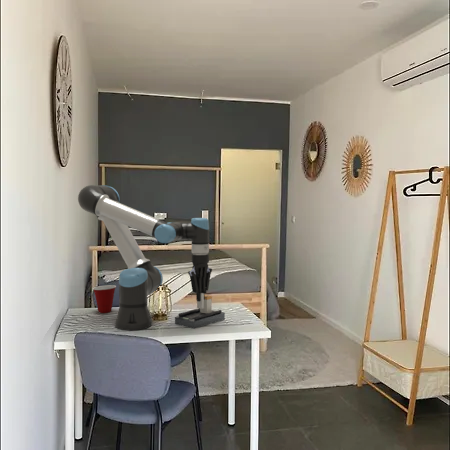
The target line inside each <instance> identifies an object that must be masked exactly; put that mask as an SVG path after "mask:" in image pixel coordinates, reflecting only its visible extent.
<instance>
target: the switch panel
mask: <svg viewBox="0 0 450 450" xmlns="http://www.w3.org/2000/svg"><path fill="white" fill-rule="evenodd" d="M225 315H226V312H223V311H222V310H221V309H219V310H214V309H212V312H211V313H207V314H206V313H201V312H200V308H195V309H191V310H188V311H183V312H180V313H178V314H177V316H174V325H178V326H180V327H181V326H182V327H184V328H190V329H197V328H201V327H203V326H207V325H210V324H214V323H217V322H220V321H224V320H225Z"/></svg>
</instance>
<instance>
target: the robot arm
mask: <svg viewBox="0 0 450 450" xmlns="http://www.w3.org/2000/svg"><path fill="white" fill-rule="evenodd" d="M120 199H121V198H120V195H119V193H118V191H117V189H115V188H114V187H112V186H109V185H105V184H103V185H97V184H96V185H94V184H89V185H86V186H84V187H83V188H81V190H79V193H78V195H77V202H78V204H79V206H80V207H81V209H82V210H84V211H86V212H87V213H90V214H93V215H95V217H96V219H97V220H98V221H102V222H103V224H104V225H105V227H106V229H107V232H109V235H110V236H111V239H112V240H113V242H114V244H115V246H116V247H117V249H118V252H119V253H120V255H121V257H122V260H123V261H124V262H125V264H126V266H127V269H126V268H125V269H124V270H122V271H120V273H119V277H118V286H119V287H118V301H119V302H118V303H119V305H118V307H119V308H118V311H117V314H116V317H115V320H114V327H115V328H117V329H119V330H126V331H135V330H143V329H147V328H149V327H151V326H152V325H153V324H152V321H153V320H152V317H151V313H150V310H149V307H148V296H149V295H152V294H154V293H155V292H154V291H156V290H157V288H158V287H159V286H160V285H161V286H162V284H163V282H164V281H163V280H164V278H163V277H164V276H163V273H162V271H161V270H160V269H159V268H158V267H156V266H154V265H153V263H152V261H151V260H150V259H149V258H146V256H145V255H144V254H143V252H142V250H141V248H140V246H139V244H138V243H137V240H136V239H135V237H134V235H133V233H132V230H130V228H132V229H133V230H136V231H139V232H141V233H143V234H146V235H149V236H151V237H153V238H155V239H156V240H157V241H158V243H161V244H168V243H172V242H175V241H180V240H182V241H183V240H184V241H187V240H188V241H189V240H190V241H191V263H192V267H191V268H192V269H191V270H188V271H187V274H188V275H189V280H190V286H191V290H192V293H195V295H196V298H195V300H196V304H197V305H196V309H198V308H200V309H203V308H204V299H205V295H206V294H207V291H209V285H210V281H211V275H212V271H213V268H210V267H209V264H208V263H210V255H209V253H210V222H209V218H208V217H207V218H206V217H193V218H191V219H190V220H191V221H190V222H189V221H188V222H180V221H179V222H176V221H171V222H166V221H163V220H161V219H160V218H157V217H154V216H152V215H149V214H148V213H145V212H142V211H140V210H137V209H135V208H132V207H130V206H127V205H126V204H123V203H120ZM157 291H158V290H157ZM157 291H156V292H157ZM153 292H154V293H153Z"/></svg>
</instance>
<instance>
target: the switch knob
mask: <svg viewBox="0 0 450 450" xmlns="http://www.w3.org/2000/svg"><path fill="white" fill-rule="evenodd" d="M212 299H213V296H212V295H211V294H210V295H209V294H205V299H204V308H203V309H200V312H201V313H206V314H207V313H211V312H212V310H213V308H212V304H213V303H212V302H213V301H212Z"/></svg>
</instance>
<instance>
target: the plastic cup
mask: <svg viewBox="0 0 450 450" xmlns="http://www.w3.org/2000/svg"><path fill="white" fill-rule="evenodd" d="M116 287H117V285H116V284H115V285H113V284H112V285H111V284H110V285H99V286H94V287H92V290H93V292H94V295H95V302H96V306H97V310H98V313H99V312H100V314H107V313H111V312H112V309H113V305H114V304H113V303H114V297H115V296H114V295H115V292H116Z"/></svg>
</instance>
